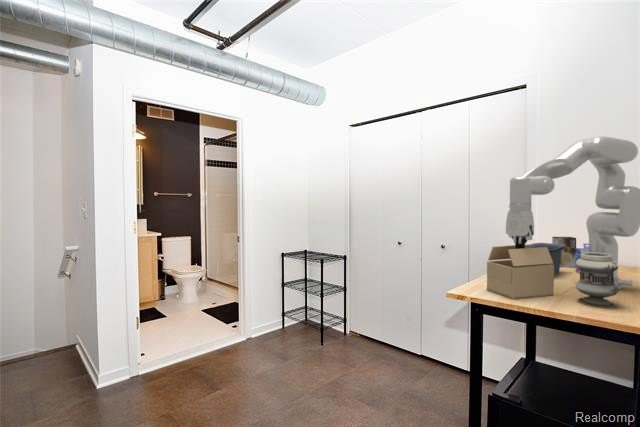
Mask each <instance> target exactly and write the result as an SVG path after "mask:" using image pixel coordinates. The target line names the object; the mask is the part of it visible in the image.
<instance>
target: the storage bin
mask: <svg viewBox="0 0 640 427" xmlns="http://www.w3.org/2000/svg"><path fill="white" fill-rule="evenodd" d="M564 246H565V245H562V244H552V242H551V243H549V242H533V243H531V244H530V247H529V248H539V247H547V248H548V251H549V253H550V256H551V258H552V261H553V263H551V264H552V265H554V275H556V274H558V273H559V272H560V269H561V267H560V260H561V251H562V250H564Z"/></svg>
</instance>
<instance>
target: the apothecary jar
mask: <svg viewBox="0 0 640 427" xmlns="http://www.w3.org/2000/svg"><path fill="white" fill-rule="evenodd" d="M576 265H577V267H579V268H580V273H579V280H577V282H576V283H575V289H576V290H577V291H578V292H580V293H581V294H583V295H586V296H584V297H580V298H579V299H578V300H579V303H581V304H584V305H587V306H592V307H596V308H612V307H614V306H615V304H614V302H612V301H610V300H608V299H606V298H610V297H613V296H617V295H618V293H619V291H620V289H618V287H617V286H616V285H615V284H614V271H615V270H617V269H619V263H618V264H617V263H616V262H615V261H613V259H612V255H611V254H606V253H595V252H586V253H582V255H581V258H580V259H578V260H577V261H576Z"/></svg>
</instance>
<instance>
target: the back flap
mask: <svg viewBox="0 0 640 427" xmlns="http://www.w3.org/2000/svg"><path fill="white" fill-rule="evenodd" d="M529 247H530V244H527V243H526V244H525V248H529ZM508 249H515V244H511V245H497V246H492V248H491V250H490V253H489V256H488V259H487V261H501V260H511V258H510V255H509V252H508Z"/></svg>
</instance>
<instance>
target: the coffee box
mask: <svg viewBox="0 0 640 427" xmlns="http://www.w3.org/2000/svg"><path fill="white" fill-rule="evenodd" d="M551 243H552V244H562V245H565V246H564V250H562V251H561V260H560V268H576V250H575V248H577V237H574V236H552V238H551Z"/></svg>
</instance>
